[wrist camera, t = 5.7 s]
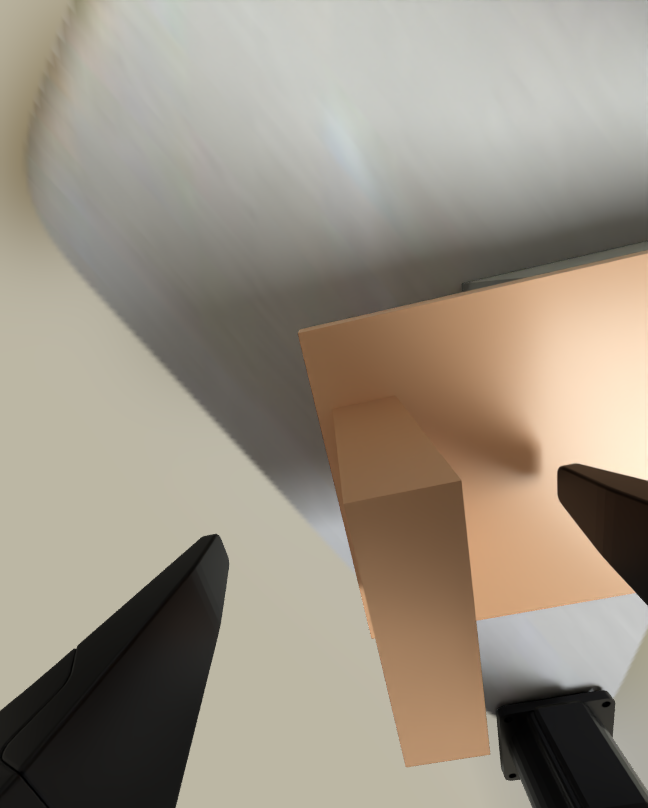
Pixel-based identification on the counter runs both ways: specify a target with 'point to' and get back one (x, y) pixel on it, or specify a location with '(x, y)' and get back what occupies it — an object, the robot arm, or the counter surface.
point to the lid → (477, 468)
